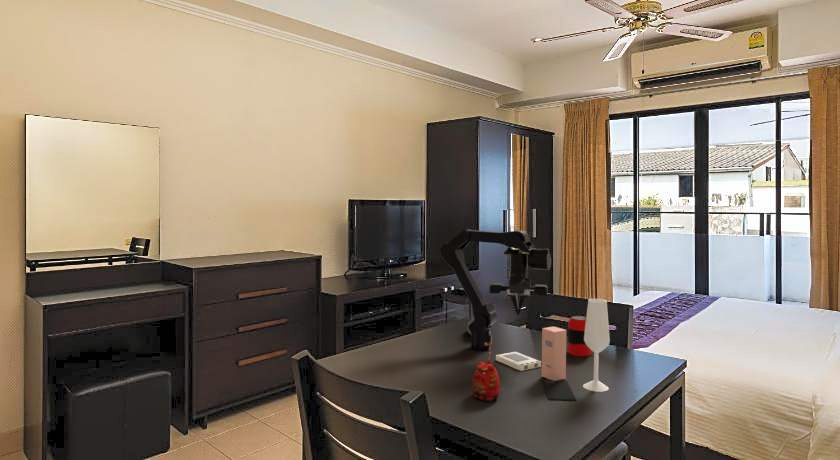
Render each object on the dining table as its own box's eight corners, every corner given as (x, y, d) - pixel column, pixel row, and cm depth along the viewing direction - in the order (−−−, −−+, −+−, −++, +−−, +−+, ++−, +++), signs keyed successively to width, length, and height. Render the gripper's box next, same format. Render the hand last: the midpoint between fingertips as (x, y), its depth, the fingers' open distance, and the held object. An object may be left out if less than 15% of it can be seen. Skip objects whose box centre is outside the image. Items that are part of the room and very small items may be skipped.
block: (541, 376, 149) (542, 328, 148) (553, 373, 151) (554, 326, 150) (553, 381, 145) (554, 332, 144) (565, 378, 147) (566, 330, 146)
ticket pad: (495, 360, 165) (495, 354, 165) (515, 356, 169) (515, 351, 169) (520, 370, 154) (520, 365, 154) (541, 366, 158) (541, 361, 158)
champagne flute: (592, 392, 137) (594, 303, 135) (577, 384, 143) (579, 298, 142) (614, 390, 139) (616, 302, 137) (598, 381, 145) (600, 297, 144)
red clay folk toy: (466, 396, 134) (466, 339, 133) (483, 389, 139) (483, 335, 138) (489, 405, 128) (490, 345, 128) (506, 397, 133) (507, 340, 133)
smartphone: (578, 402, 131) (566, 382, 146) (578, 399, 131) (566, 379, 146) (548, 402, 132) (540, 381, 146) (548, 398, 131) (540, 378, 146)
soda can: (586, 358, 167) (587, 321, 167) (564, 354, 172) (564, 318, 171) (594, 352, 173) (595, 317, 173) (572, 348, 178) (573, 314, 177)
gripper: (487, 270, 166) (487, 318, 167) (546, 272, 161) (546, 321, 162) (491, 266, 177) (491, 311, 177) (547, 267, 172) (547, 314, 173)
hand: (518, 314), depth 172 cm, fingers closed
